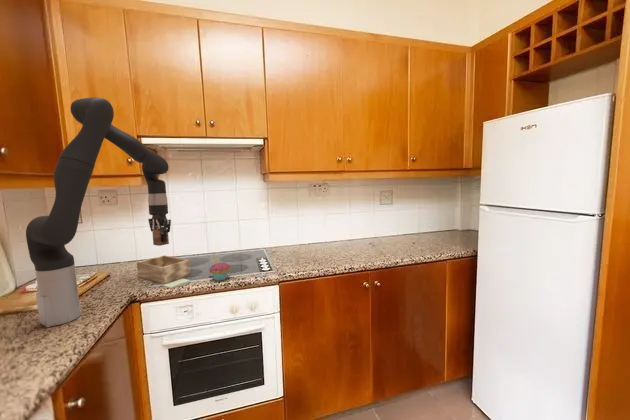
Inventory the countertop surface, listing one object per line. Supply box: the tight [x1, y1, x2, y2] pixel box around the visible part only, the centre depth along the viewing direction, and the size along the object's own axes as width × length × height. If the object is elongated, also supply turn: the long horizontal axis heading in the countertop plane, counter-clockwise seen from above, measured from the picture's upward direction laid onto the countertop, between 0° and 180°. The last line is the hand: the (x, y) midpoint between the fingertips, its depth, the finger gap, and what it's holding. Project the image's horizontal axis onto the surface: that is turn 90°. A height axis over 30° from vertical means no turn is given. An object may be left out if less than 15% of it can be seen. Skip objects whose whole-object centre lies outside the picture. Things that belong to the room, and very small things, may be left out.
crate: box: [136, 255, 191, 285], centre depth 132 cm, size 13×19×7 cm
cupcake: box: [209, 252, 231, 282], centre depth 127 cm, size 9×8×12 cm
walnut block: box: [151, 228, 170, 247], centre depth 131 cm, size 4×4×7 cm
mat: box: [162, 278, 191, 289], centre depth 122 cm, size 9×5×1 cm, turn 149°
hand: (161, 241), depth 131 cm, fingers closed on walnut block, 4 cm apart
